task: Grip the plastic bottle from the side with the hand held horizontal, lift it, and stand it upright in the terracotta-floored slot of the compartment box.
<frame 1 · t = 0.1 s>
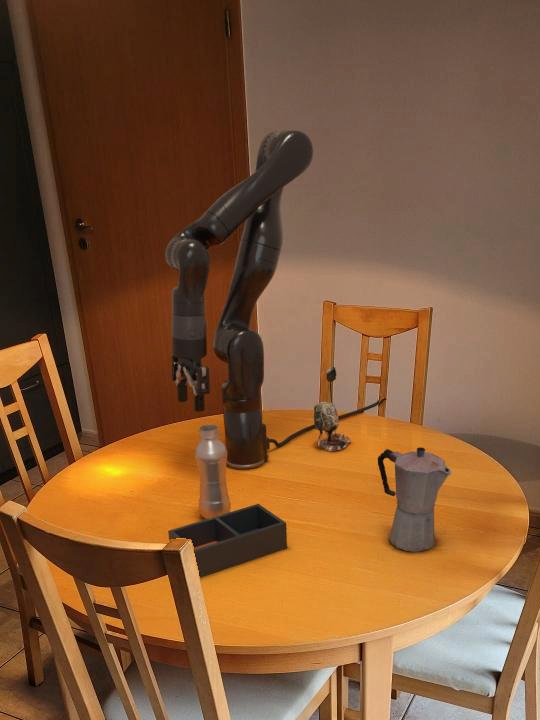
hand: (190, 406, 179), 17 cm above the table, tool pointing down, fingers open, 8 cm apart
plastic bottle: (215, 517, 167), on the table
moka pot: (409, 542, 155), on the table
compartment box: (229, 552, 153), on the table
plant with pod: (331, 446, 201), on the table
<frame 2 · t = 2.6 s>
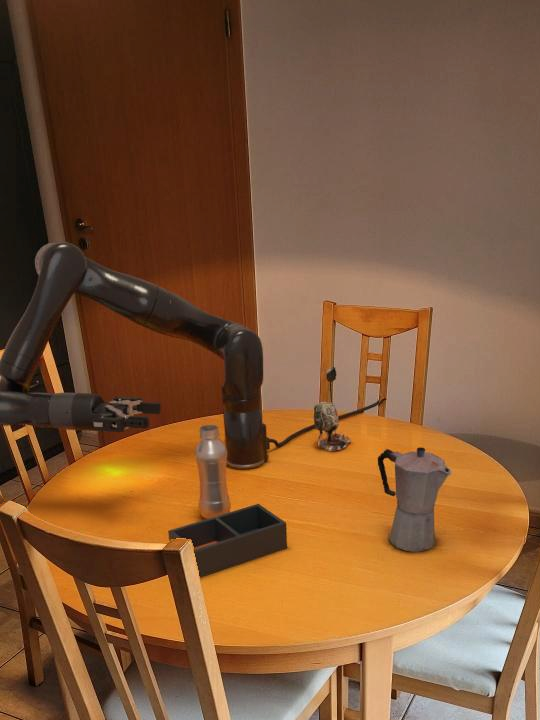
hand: (154, 415, 158), 22 cm above the table, tool horizontal, fingers open, 8 cm apart
nothing on the table moved.
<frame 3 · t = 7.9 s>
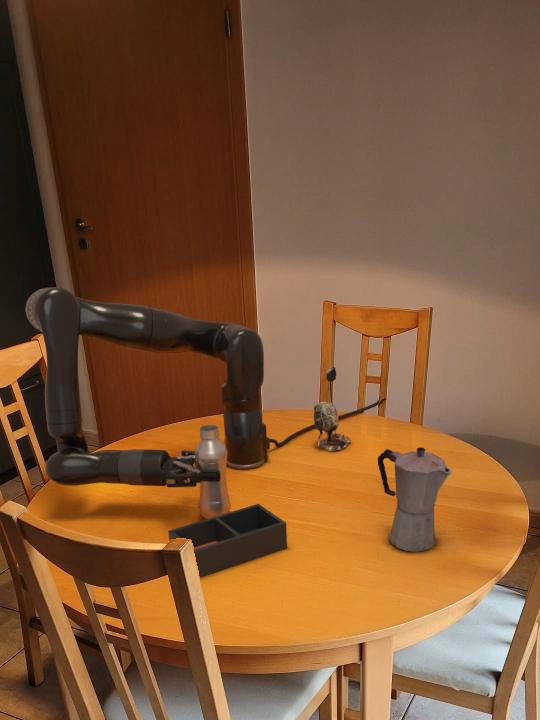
hand: (223, 469, 162), 11 cm above the table, tool horizontal, fingers closed on plastic bottle, 6 cm apart
plastic bottle: (215, 517, 167), on the table, touching gripper
everything else where it was.
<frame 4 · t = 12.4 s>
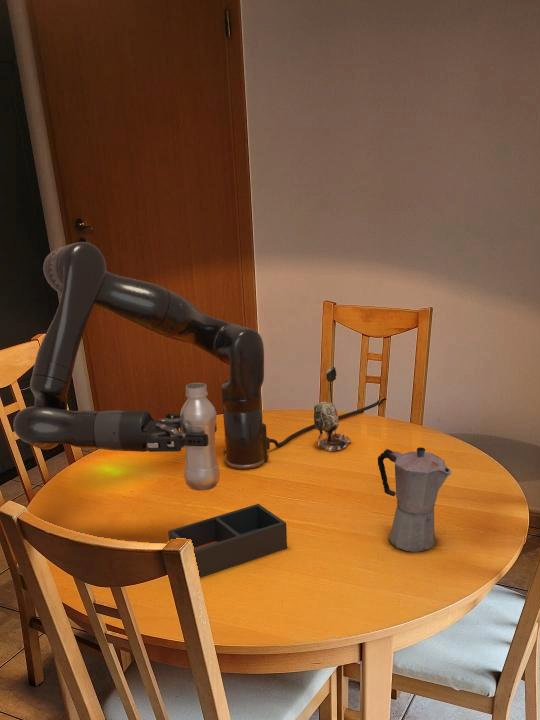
hand: (211, 433, 145), 24 cm above the table, tool horizontal, fingers closed on plastic bottle, 6 cm apart
plastic bottle: (203, 488, 150), point 13 cm above the table, touching gripper
everything else where it was.
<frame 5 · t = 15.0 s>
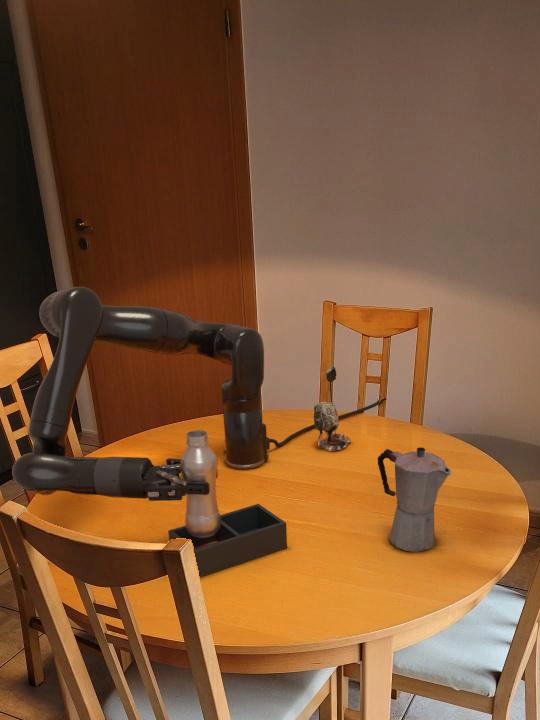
hand: (212, 480, 143), 17 cm above the table, tool horizontal, fingers closed on plastic bottle, 6 cm apart
plastic bottle: (203, 534, 148), point 5 cm above the table, touching gripper
everything else where it was.
when the fingers open (12 cm above the table, at t = 16.9 s): plastic bottle stays where it is, resting on compartment box.
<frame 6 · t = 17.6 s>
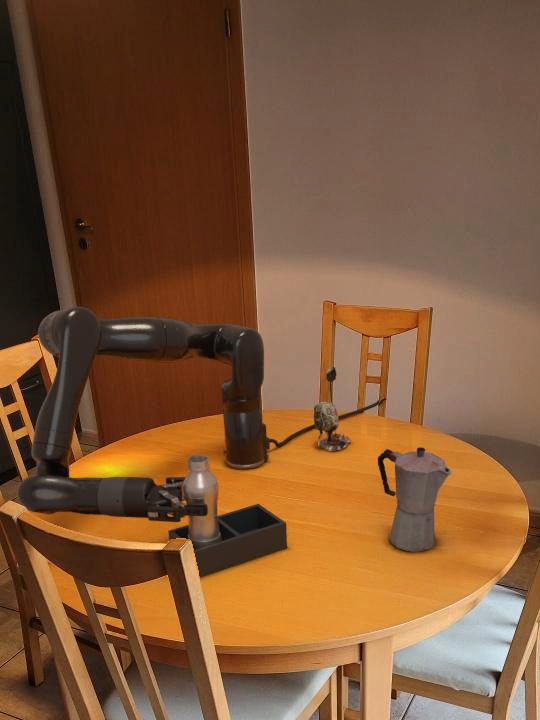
hand: (212, 499, 145), 13 cm above the table, tool horizontal, fingers open, 8 cm apart
plastic bottle: (206, 556, 151), point 1 cm above the table, touching compartment box
everything else where it was.
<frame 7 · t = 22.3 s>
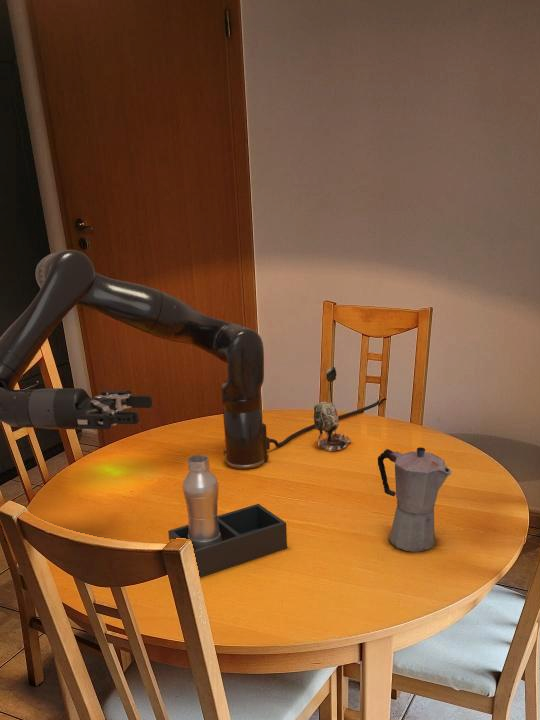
hand: (144, 409, 144), 28 cm above the table, tool horizontal, fingers open, 8 cm apart
nothing on the table moved.
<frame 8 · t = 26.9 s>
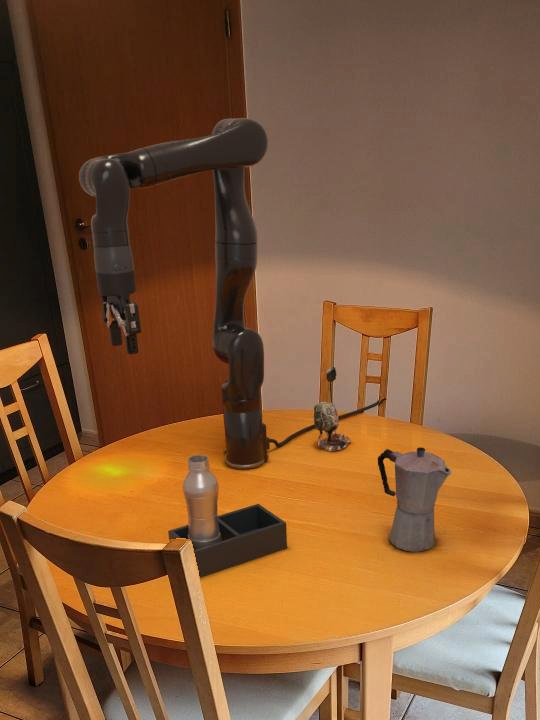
hand: (124, 349, 163), 33 cm above the table, tool pointing down, fingers open, 8 cm apart
nothing on the table moved.
at the end: plastic bottle 0.2 cm from the target spot in the compartment box, point 0.6 cm above the compartment box's base; plastic bottle tilted 0°; the gripper is holding nothing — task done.
